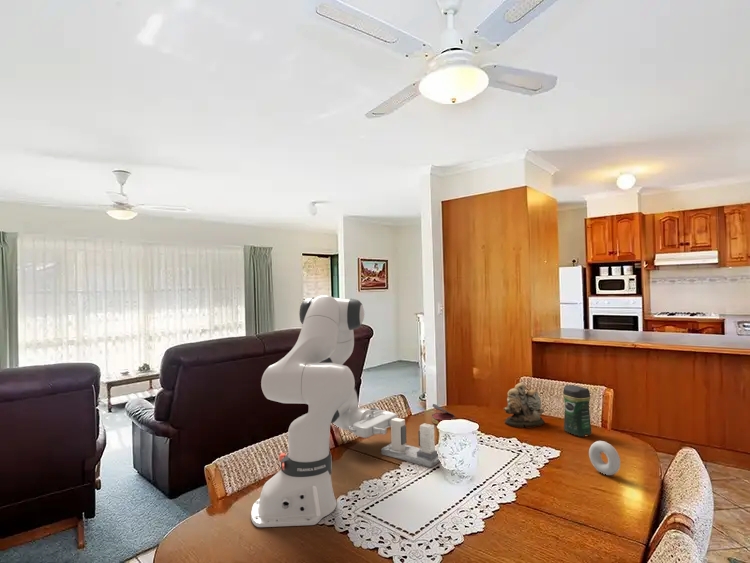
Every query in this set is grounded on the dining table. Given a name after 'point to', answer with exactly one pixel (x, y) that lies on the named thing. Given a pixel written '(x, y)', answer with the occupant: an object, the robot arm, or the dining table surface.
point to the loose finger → (398, 434)
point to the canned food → (441, 415)
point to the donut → (611, 455)
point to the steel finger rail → (418, 449)
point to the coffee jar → (577, 410)
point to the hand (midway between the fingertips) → (393, 428)
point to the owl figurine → (523, 407)
